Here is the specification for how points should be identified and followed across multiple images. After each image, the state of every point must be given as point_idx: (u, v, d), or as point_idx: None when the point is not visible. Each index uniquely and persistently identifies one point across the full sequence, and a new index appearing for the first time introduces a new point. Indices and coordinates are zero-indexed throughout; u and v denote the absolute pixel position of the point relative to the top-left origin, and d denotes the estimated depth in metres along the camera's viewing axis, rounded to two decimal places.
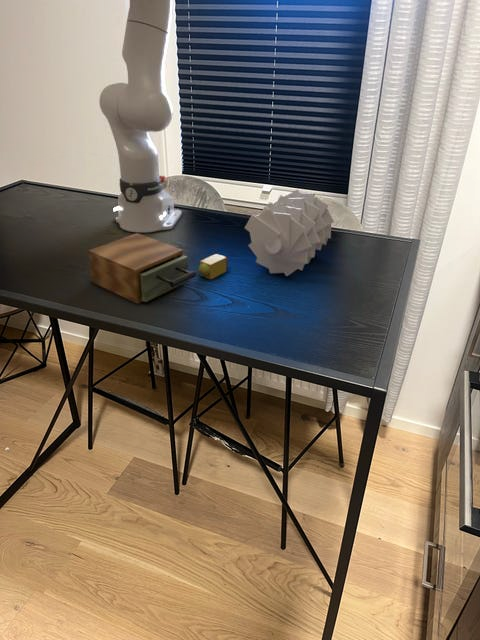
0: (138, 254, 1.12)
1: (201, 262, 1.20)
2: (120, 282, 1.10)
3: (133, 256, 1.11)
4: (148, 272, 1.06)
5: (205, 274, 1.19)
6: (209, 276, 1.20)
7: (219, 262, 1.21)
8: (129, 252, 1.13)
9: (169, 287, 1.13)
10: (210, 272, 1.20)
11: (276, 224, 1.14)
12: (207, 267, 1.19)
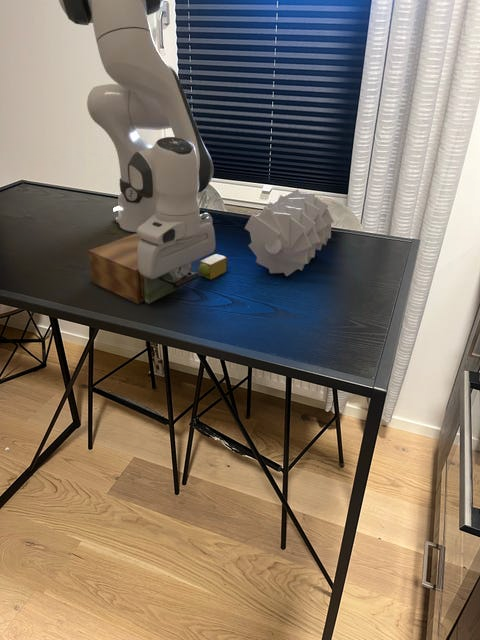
0: None
1: (201, 262, 1.20)
2: (120, 282, 1.10)
3: (133, 256, 1.11)
4: None
5: (205, 274, 1.19)
6: (209, 276, 1.20)
7: (219, 262, 1.21)
8: (129, 252, 1.13)
9: (172, 288, 1.12)
10: (210, 272, 1.20)
11: (276, 224, 1.14)
12: (207, 267, 1.19)
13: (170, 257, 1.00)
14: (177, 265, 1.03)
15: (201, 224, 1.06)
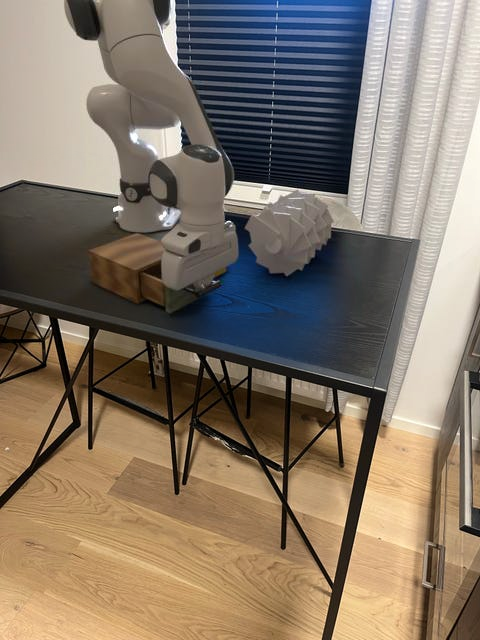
0: (138, 254, 1.12)
1: None
2: (120, 282, 1.10)
3: (133, 256, 1.11)
4: None
5: None
6: None
7: None
8: (129, 252, 1.13)
9: (193, 297, 1.09)
10: None
11: (276, 224, 1.14)
12: None
13: (195, 268, 0.97)
14: (201, 276, 1.00)
15: (225, 233, 1.03)
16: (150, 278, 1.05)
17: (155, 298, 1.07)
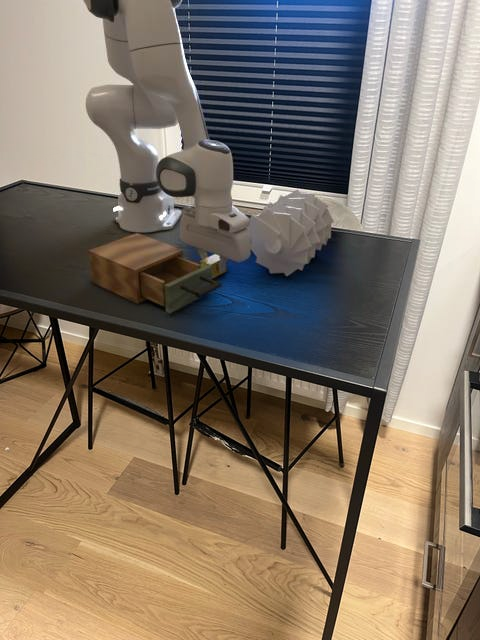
0: (138, 254, 1.12)
1: (201, 262, 1.20)
2: (120, 282, 1.10)
3: (133, 256, 1.11)
4: (173, 282, 1.02)
5: None
6: None
7: (219, 262, 1.21)
8: (129, 252, 1.13)
9: (193, 297, 1.09)
10: None
11: (276, 224, 1.14)
12: None
13: None
14: None
15: None
16: (150, 278, 1.05)
17: (155, 298, 1.07)
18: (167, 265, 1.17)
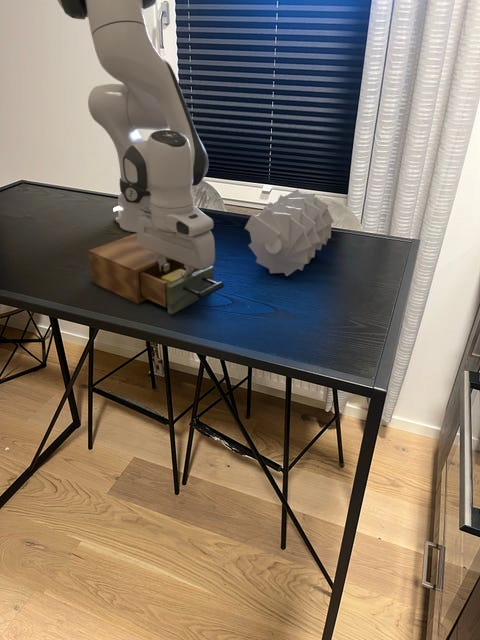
0: (138, 254, 1.12)
1: (162, 278, 1.07)
2: (120, 282, 1.10)
3: (133, 256, 1.11)
4: (175, 283, 1.02)
5: None
6: None
7: None
8: (129, 252, 1.13)
9: (195, 298, 1.08)
10: None
11: (276, 224, 1.14)
12: (168, 284, 1.06)
13: None
14: None
15: None
16: (152, 279, 1.05)
17: (156, 299, 1.06)
18: None
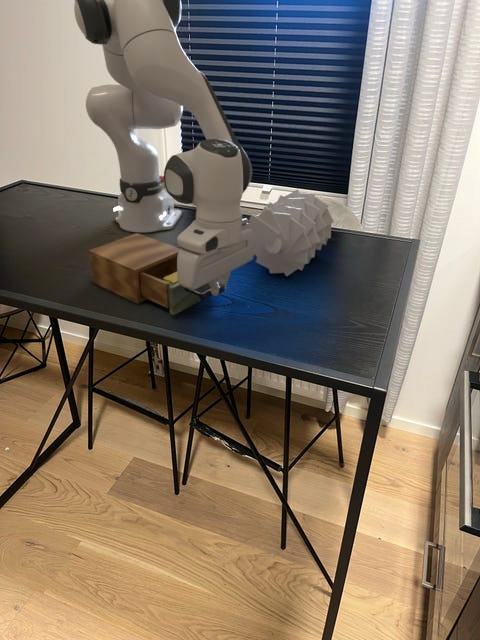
0: (138, 254, 1.12)
1: (164, 279, 1.07)
2: (120, 282, 1.10)
3: (133, 256, 1.11)
4: (177, 284, 1.02)
5: None
6: None
7: None
8: (129, 252, 1.13)
9: (197, 299, 1.08)
10: None
11: (276, 224, 1.14)
12: (170, 285, 1.06)
13: (211, 266, 0.94)
14: (217, 275, 0.97)
15: (241, 231, 1.00)
16: (154, 280, 1.04)
17: (158, 300, 1.06)
18: (170, 267, 1.17)
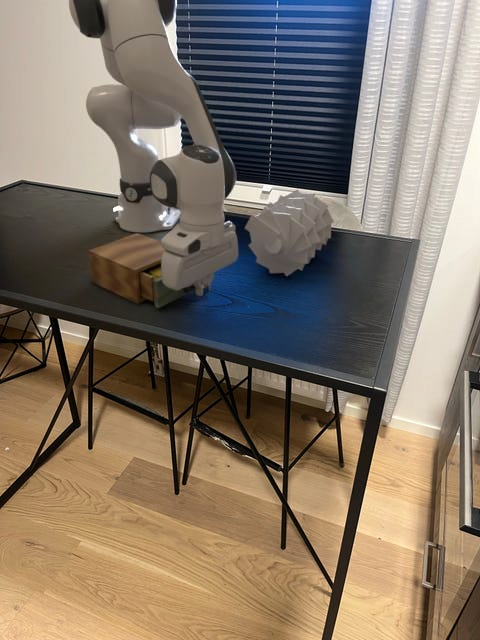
0: (138, 254, 1.12)
1: (149, 273, 1.09)
2: (120, 282, 1.10)
3: (133, 256, 1.11)
4: (161, 278, 1.04)
5: None
6: None
7: None
8: (129, 252, 1.13)
9: (182, 292, 1.11)
10: None
11: (276, 224, 1.14)
12: None
13: (195, 268, 0.98)
14: (201, 276, 1.00)
15: (225, 233, 1.03)
16: (139, 273, 1.07)
17: (144, 293, 1.08)
18: None
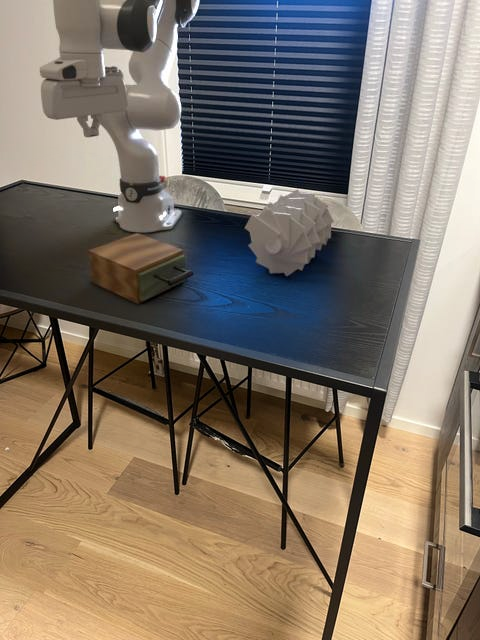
0: (138, 254, 1.12)
1: None
2: (120, 282, 1.10)
3: (133, 256, 1.11)
4: (145, 271, 1.07)
5: None
6: None
7: None
8: (129, 252, 1.13)
9: (167, 286, 1.13)
10: None
11: (276, 224, 1.14)
12: None
13: (75, 100, 1.03)
14: (84, 112, 1.06)
15: (110, 76, 1.08)
16: None
17: None
18: None
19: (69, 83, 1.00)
